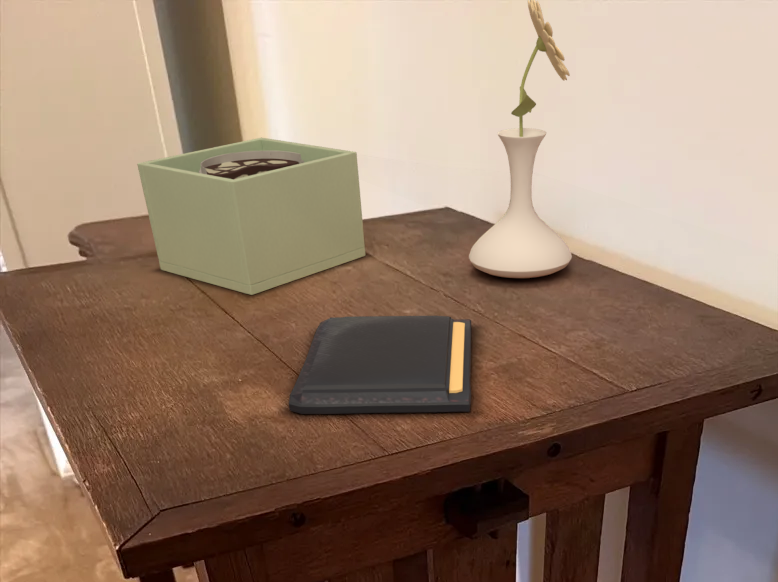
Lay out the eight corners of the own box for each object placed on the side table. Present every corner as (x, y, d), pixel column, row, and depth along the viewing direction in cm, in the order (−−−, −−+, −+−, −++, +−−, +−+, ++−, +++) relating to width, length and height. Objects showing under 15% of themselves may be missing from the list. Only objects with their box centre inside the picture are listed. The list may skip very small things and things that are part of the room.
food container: (291, 237, 111) (278, 145, 104) (316, 248, 107) (305, 153, 100) (195, 256, 105) (176, 159, 99) (218, 269, 101) (199, 169, 95)
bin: (160, 269, 104) (136, 163, 97) (275, 235, 115) (261, 137, 108) (251, 295, 97) (232, 181, 90) (365, 255, 108) (356, 151, 101)
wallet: (319, 307, 88) (477, 307, 87) (321, 327, 89) (478, 327, 88) (276, 392, 72) (469, 392, 71) (280, 415, 73) (470, 415, 73)
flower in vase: (557, 291, 96) (568, 3, 81) (455, 282, 99) (447, 2, 84) (584, 257, 106) (599, -6, 90) (490, 250, 109) (489, -7, 93)
